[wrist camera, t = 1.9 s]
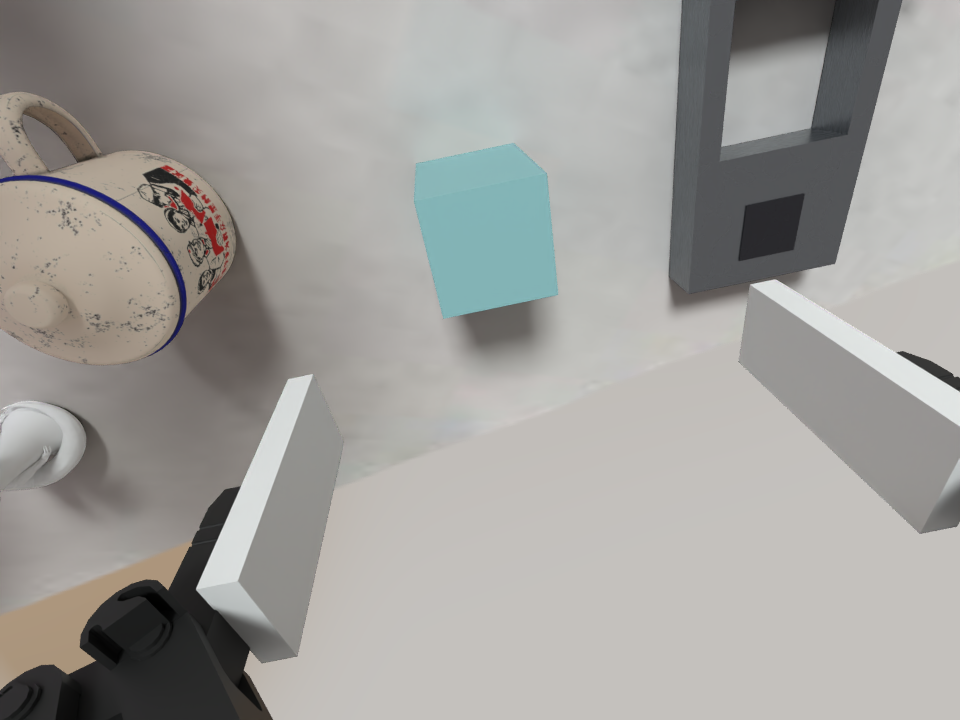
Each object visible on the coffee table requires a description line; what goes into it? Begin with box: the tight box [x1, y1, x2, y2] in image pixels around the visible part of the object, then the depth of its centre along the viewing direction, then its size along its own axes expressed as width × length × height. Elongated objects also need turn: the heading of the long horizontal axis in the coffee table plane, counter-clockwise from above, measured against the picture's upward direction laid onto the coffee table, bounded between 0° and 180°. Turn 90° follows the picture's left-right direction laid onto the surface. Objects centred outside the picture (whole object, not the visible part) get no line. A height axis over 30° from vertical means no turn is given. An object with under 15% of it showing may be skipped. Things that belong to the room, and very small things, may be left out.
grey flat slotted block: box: [669, 0, 902, 294], centre depth 26 cm, size 24×10×3 cm, turn 10°
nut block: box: [414, 143, 558, 319], centre depth 26 cm, size 6×6×9 cm
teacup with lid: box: [0, 92, 236, 365], centre depth 23 cm, size 12×9×12 cm
